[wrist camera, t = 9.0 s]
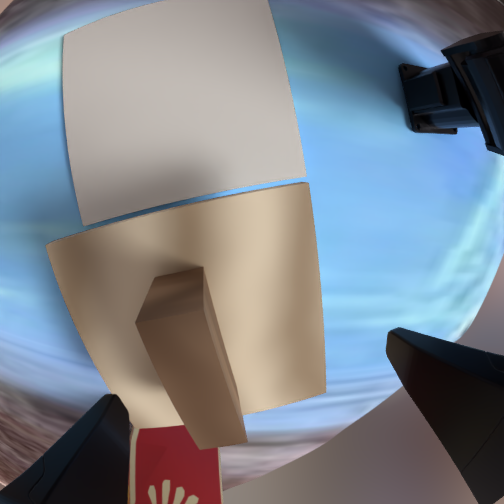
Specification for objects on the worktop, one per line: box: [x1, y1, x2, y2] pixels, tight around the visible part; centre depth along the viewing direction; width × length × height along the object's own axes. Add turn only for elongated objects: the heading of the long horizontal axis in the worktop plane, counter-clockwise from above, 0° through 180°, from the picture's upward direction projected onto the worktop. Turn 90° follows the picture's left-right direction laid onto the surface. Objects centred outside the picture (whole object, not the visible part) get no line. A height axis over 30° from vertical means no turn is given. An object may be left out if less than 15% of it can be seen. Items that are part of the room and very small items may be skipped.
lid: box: [45, 182, 326, 450], centre depth 13 cm, size 14×14×6 cm
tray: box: [63, 0, 307, 226], centre depth 16 cm, size 16×16×1 cm
